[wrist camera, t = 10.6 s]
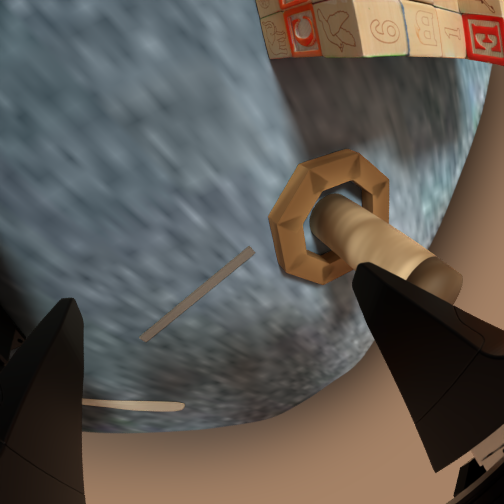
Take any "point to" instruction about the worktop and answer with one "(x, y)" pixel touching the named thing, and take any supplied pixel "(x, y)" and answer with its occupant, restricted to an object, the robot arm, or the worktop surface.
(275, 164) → the worktop surface
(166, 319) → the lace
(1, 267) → the worktop surface
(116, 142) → the worktop surface
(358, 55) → the stack of blocks
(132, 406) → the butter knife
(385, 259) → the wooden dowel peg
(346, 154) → the faceted ring
